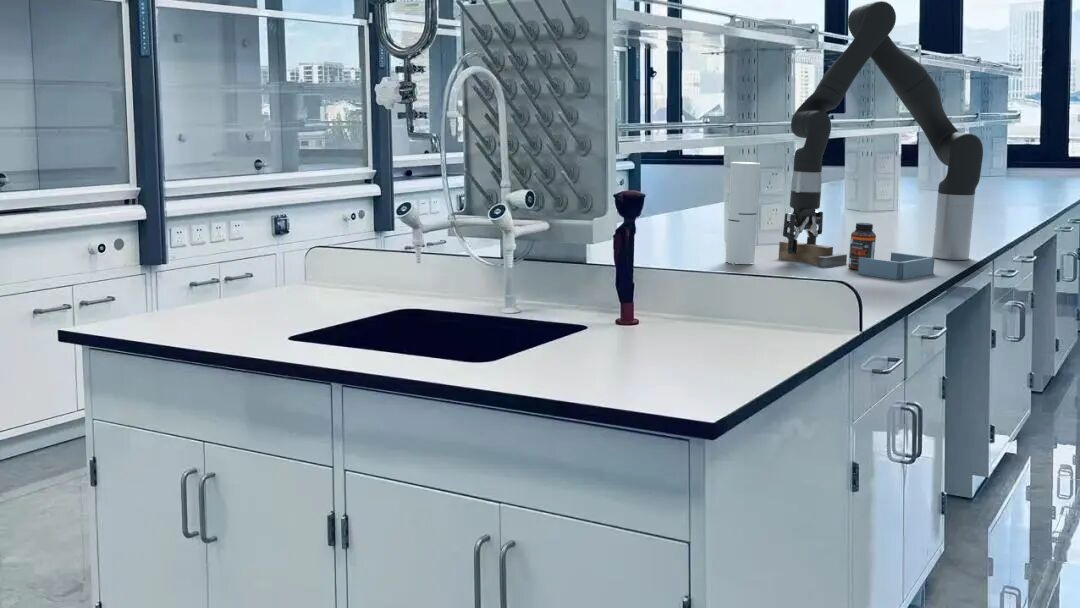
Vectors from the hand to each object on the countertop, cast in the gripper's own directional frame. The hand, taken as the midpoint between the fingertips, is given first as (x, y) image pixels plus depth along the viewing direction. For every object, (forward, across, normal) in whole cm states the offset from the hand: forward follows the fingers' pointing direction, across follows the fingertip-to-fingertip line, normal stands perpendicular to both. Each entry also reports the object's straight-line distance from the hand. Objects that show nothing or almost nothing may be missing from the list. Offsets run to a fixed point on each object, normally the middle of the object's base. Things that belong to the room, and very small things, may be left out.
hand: (801, 252), depth 288 cm
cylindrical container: (+2, +17, -7) cm, 18 cm away
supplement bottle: (+2, 0, +17) cm, 17 cm away
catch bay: (+2, 0, +26) cm, 26 cm away
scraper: (+2, 0, +1) cm, 3 cm away
